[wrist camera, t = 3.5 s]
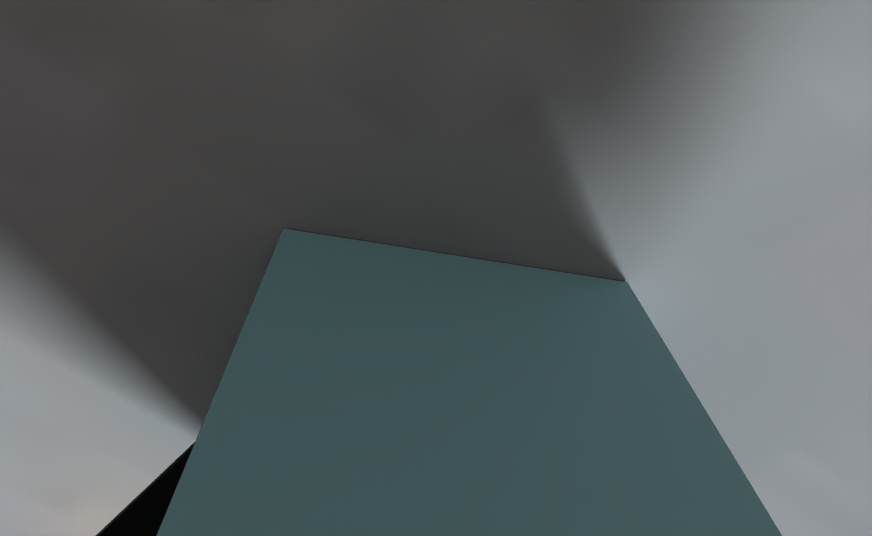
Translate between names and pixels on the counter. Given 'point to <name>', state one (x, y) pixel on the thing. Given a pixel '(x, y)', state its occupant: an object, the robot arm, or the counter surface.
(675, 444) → the teal block
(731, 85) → the counter surface
